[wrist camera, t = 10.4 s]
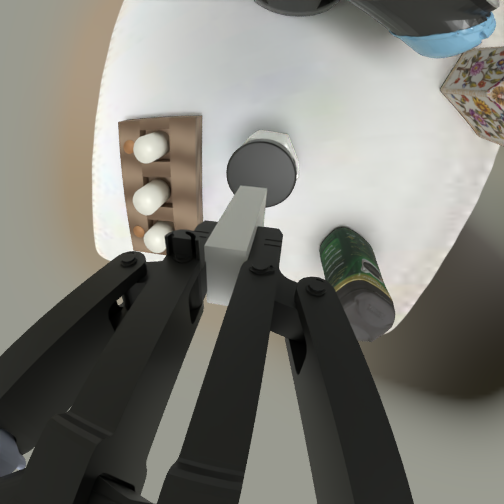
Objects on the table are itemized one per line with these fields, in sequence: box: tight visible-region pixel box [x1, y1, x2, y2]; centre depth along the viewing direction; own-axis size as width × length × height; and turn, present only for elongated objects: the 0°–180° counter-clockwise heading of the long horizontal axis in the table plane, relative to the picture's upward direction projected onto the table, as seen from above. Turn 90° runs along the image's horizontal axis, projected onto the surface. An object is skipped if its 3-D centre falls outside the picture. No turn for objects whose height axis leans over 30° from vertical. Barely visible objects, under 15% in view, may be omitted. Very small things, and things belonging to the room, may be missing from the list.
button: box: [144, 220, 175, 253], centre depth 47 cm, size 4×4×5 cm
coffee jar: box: [320, 228, 395, 342], centre depth 39 cm, size 10×8×19 cm
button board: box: [118, 116, 203, 255], centre depth 44 cm, size 25×14×3 cm, turn 177°
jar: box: [226, 130, 299, 208], centre depth 35 cm, size 9×8×12 cm
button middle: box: [133, 179, 170, 215], centre depth 41 cm, size 4×4×5 cm
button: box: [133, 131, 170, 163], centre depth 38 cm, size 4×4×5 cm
